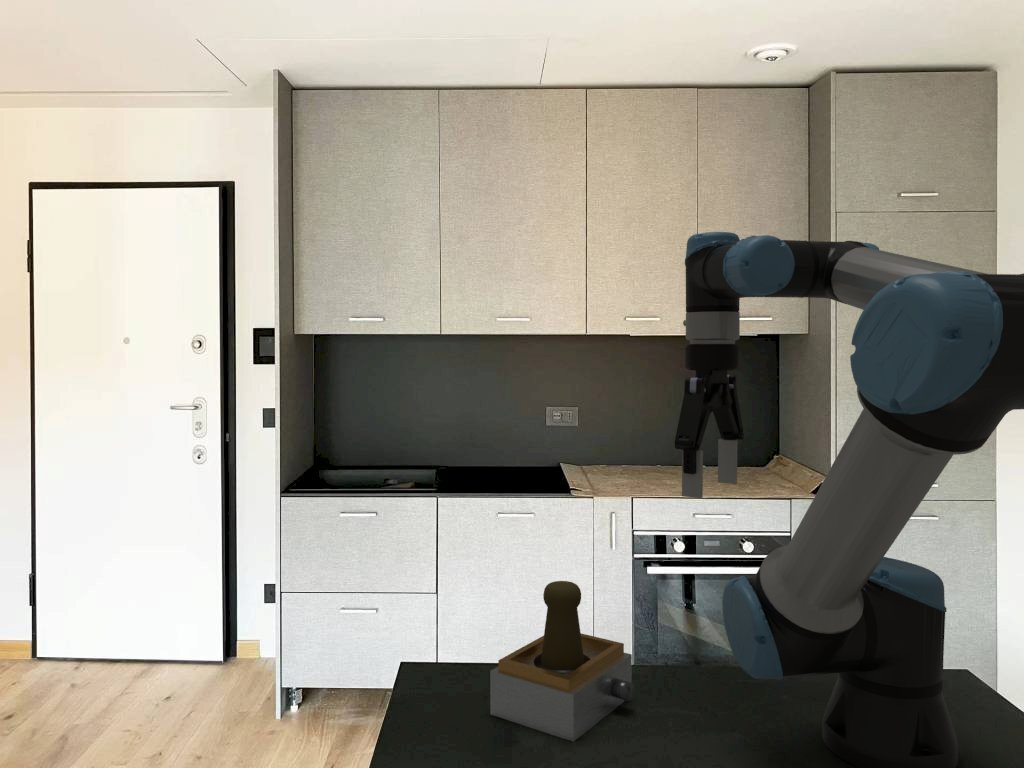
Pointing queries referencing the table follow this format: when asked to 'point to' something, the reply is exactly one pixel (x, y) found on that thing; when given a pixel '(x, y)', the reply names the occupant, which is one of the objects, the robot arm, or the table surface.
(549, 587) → the cork
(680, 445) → the robot arm
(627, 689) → the grey box with hole
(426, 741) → the table surface
